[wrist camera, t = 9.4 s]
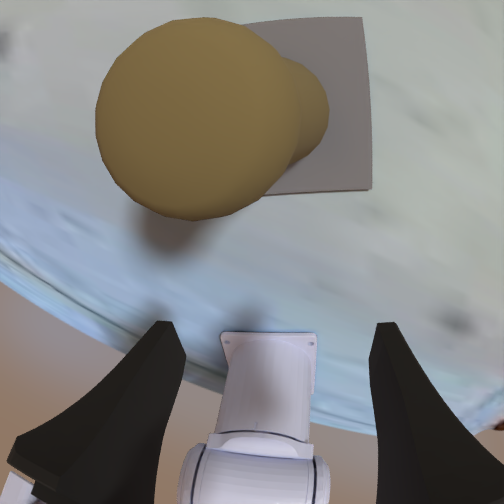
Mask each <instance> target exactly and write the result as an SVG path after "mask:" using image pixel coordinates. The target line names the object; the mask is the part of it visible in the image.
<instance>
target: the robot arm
mask: <svg viewBox="0 0 504 504" xmlns="http://www.w3.org/2000/svg"><path fill="white" fill-rule="evenodd" d="M220 339H221V342H222V346H223V349H224V353H225V356H226V360H227V363H228V367H229V370H228V374H227V379H226V383H225V388H224V392H223V397H222V401H221V406H220V410H219V415H218V419H217V424H216V428H215V433H209V436H208V440H207V444H204V443H198V444H197V445H196V446H195V447H193V448H192V449H190V450H189V452H188V453H187V455H186V457H185V459H184V462H183V465H182V469H181V472H180V477H179V482H178V488H177V504H328V503H329V495H330V472H329V467H328V465H327V463H326V462H325V461H324V460H323V458H322V457H321V456H314V455H313V446H314V445H313V444H309V426H310V398H311V395H312V394H313V393H314V383H315V368H316V350H317V335H316V334H314V333H254V332H223V333H221V336H220ZM185 360H186V354H185V352H184V349H183V347H182V345H181V342H180V340H179V337H178V335H177V333H176V330H175V328H174V325H173V323H172V322H171V321H156V323H155V324H154V325H153V326H152V327H151V328H150V329H149V330H148V331H147V332H146V334H145V335H144V336H143V337H142V338H141V339H140V340H139V341H138V343H137V344H136V345H135V346H134V347H133V348H132V349H131V350H130V351H129V353H128V354H127V355H126V356H125V357H124V358H123V359H122V360H121V361H120V363H118V365H117V366H116V367H115V368H114V369H113V370H112V371H111V372H110V373H109V374H108V375H107V376H106V377H105V378H104V379H103V380H102V381H101V382H100V383H98V384H97V386H95V387H94V388H93V389H92V390H91V391H89V392H88V393H87V394H86V395H85V396H83V397H82V398H81V399H80V400H79V401H77V402H76V403H74V404H73V405H72V406H70V407H69V408H67V409H66V410H65V411H64V412H62V413H60V414H59V415H57V416H56V417H54V418H53V419H51V420H49V421H48V422H46V423H44V424H43V425H40V426H39V427H37V428H35V429H33V430H31V431H29V432H26V433H24V434H22V435H20V436H17V438H16V441H15V443H14V445H13V447H12V449H11V452H10V454H9V456H8V458H7V463H8V464H10V465H11V466H13V467H14V468H16V469H17V470H19V471H21V472H22V473H24V474H25V475H27V476H29V477H30V478H32V479H34V480H35V484H33V483H31V482H29V481H28V480H26V479H24V478H23V477H21V476H19V475H18V474H16V473H15V472H13V471H11V472H10V473H9V476H8V478H7V481H6V484H5V486H4V489H3V491H2V494H1V497H0V504H154V494H155V484H156V475H157V468H158V462H159V456H160V451H161V446H162V440H163V436H164V433H165V429H166V426H167V423H168V420H169V416H170V413H171V411H172V408H173V405H174V402H175V399H176V396H177V392H178V390H179V387H180V384H181V380H182V376H183V371H184V366H185ZM369 376H370V388H371V395H372V402H373V408H374V415H375V422H376V430H377V438H378V484H377V486H378V487H377V499H376V504H504V465H503V464H502V463H501V462H500V461H499V460H497V459H496V458H495V457H494V456H493V455H492V454H491V453H490V452H489V451H487V450H486V449H485V448H484V447H483V446H482V445H481V444H480V443H479V441H478V440H477V439H476V438H475V437H474V436H473V435H472V434H471V433H470V432H469V431H468V430H467V429H466V428H465V427H464V425H463V424H462V423H461V422H460V421H459V419H458V418H457V417H456V416H455V415H454V413H453V412H452V411H451V410H450V408H449V407H448V406H447V404H446V403H445V402H444V400H443V399H442V398H441V396H440V395H439V393H438V392H437V390H436V389H435V387H434V386H433V385H432V383H431V382H430V380H429V379H428V377H427V375H426V374H425V372H424V371H423V369H422V367H421V366H420V364H419V363H418V361H417V359H416V358H415V356H414V354H413V353H412V351H411V349H410V348H409V346H408V344H407V342H406V341H405V339H404V337H403V335H402V333H401V332H400V330H399V328H398V326H397V324H396V323H395V322H386V323H377V327H376V331H375V335H374V340H373V344H372V348H371V352H370V356H369Z"/></svg>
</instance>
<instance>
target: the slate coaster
mask: <svg viewBox="0 0 504 504" xmlns="http://www.w3.org/2000/svg"><path fill="white" fill-rule="evenodd" d="M242 26H245V27H247V28H248V29H250V30H251V31H253V32H254V33H255V34H257V35H258V36H260V37H261V38H262V39H264V40H265V41H267V42H268V43H269V44H271V45H272V46H273V47H274V48H275V49H276V50H277V51H278V53H279V54H280V56H281V57H285V58H287V59H290V60H292V61H295V62H297V63H300V64H302V65H303V66H305V67H306V68H307V69H308V70H309V71H311V72H312V73H313V74H314V75H315V76H316V77H317V78H318V80H319V82H320V83H321V85H322V86H323V88H324V90H325V91H326V95H327V99H328V104H329V109H330V111H329V120H328V128H327V130H326V132H325V134H324V136H323V138H322V140H321V142H320V144H319V145H318V146H317V147H316V148H315V149H314V150H313V151H312V152H311V153H310V154H309V155H308V156H306V157H304V158H302V159H300V160H298V161H296V162H294V163H293V164H289V165H288V166H287V168H286V170H285V172H284V173H283V175H282V176H281V177H280V178H279V179H278V180H277V181H276V182H275V183H274V184H273V186H272V187H271V188H270V189H269V190H268V191H267V192H266V193H265V194H264V195H266V194H280V193H296V192H314V191H335V190H361V189H372V125H371V103H370V87H369V75H368V63H367V54H366V44H365V36H364V28H363V21H362V17H315V18H297V19H285V20H274V21H265V22H257V23H250V24H243V25H242Z"/></svg>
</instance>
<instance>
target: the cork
mask: <svg viewBox="0 0 504 504" xmlns="http://www.w3.org/2000/svg"><path fill="white" fill-rule="evenodd" d="M329 111H330V109H329V104H328V99H327V95H326V91H325V90H324V88H323V86H322V85H321V83H320V82H319V80H318V78H317V77H316V76H315V75H314V74H313V73H312V72H311V71H309V70H308V69H307V68H306V67H305V66H303V65H302V64H300V63H297V62H295V61H292V60H290V59H287V58H285V57H281V56H280V54H279V53H278V51H277V50H276V49H275V48H274V47H273V46H272V45H271V44H269V43H268V42H267V41H265V40H264V39H262V38H261V37H260V36H258V35H257V34H255V33H254V32H253V31H251V30H250V29H248V28H247V27H245V26H242V25H239V24H235V23H232V22H228V21H224V20H221V19H217V18H205V17H203V18H191V19H181V20H172V21H170V22H168V23H165V24H163V25H161V26H159V27H157V28H154V29H152V30H150V31H148V32H146V33H144V34H143V35H142V36H140V37H139V38H138V39H137V40H136V41H135V42H133V43H132V44H131V45H130V46H129V47H128V48H127V49H126V50H125V51H124V52H123V53H122V54H121V55H120V56H118V57H117V58H116V60H115V62H114V63H113V65H112V67H111V68H110V70H109V72H108V73H107V75H106V77H105V79H104V80H103V82H102V86H101V89H100V93H99V97H98V101H97V104H96V111H95V127H96V139H97V142H98V146H99V150H100V154H101V157H102V161H103V162H104V164H105V166H106V168H107V169H108V171H109V173H110V175H111V176H112V178H113V180H114V181H115V183H116V184H117V185H118V186H119V187H120V188H121V189H122V190H123V191H124V192H125V193H126V194H127V195H128V196H129V197H130V198H131V199H132V200H133V201H135V202H137V203H139V204H141V205H143V206H145V207H147V208H149V209H150V210H152V211H154V212H156V213H158V214H161V215H163V216H165V217H170V218H176V219H182V220H188V221H198V220H204V219H211V218H217V217H223V216H227V215H230V214H233V213H235V212H237V211H238V210H240V209H242V208H244V207H246V206H248V205H250V204H252V203H254V202H256V201H258V200H259V199H260V198H261V197H262V196H263V195H264V194H265V193H266V192H267V191H268V190H269V189H270V188H271V187H272V186H273V184H274V183H275V182H276V181H277V180H278V179H279V178H280V177H281V176H282V175H283V173H284V172H285V170H286V168H287V166H288V165H289V164H293V163H294V162H296V161H298V160H300V159H302V158H304V157H306V156H308V155H309V154H310V153H311V152H312V151H313V150H314V149H315V148H316V147H317V146H318V145H319V144H320V142H321V140H322V138H323V136H324V134H325V132H326V130H327V128H328V120H329Z"/></svg>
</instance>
